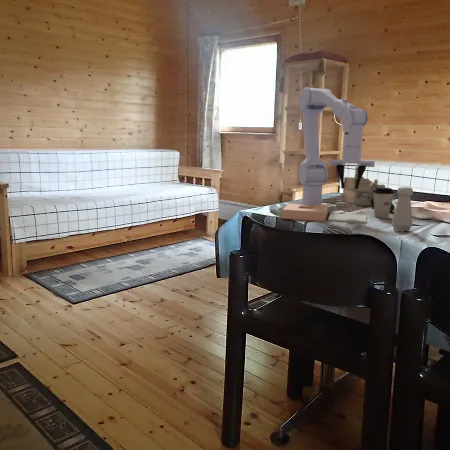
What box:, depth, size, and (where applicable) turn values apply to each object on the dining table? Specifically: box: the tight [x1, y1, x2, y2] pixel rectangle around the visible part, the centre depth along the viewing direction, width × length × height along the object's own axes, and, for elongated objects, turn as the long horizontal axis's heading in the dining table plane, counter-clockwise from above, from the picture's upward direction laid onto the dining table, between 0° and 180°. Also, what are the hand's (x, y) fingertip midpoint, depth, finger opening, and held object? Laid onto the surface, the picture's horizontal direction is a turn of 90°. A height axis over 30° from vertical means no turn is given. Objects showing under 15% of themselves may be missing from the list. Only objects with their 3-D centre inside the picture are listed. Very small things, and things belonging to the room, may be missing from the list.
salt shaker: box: [391, 186, 414, 232], centre depth 137 cm, size 6×6×13 cm
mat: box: [327, 212, 367, 224], centre depth 155 cm, size 12×12×1 cm
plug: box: [341, 176, 357, 204], centre depth 153 cm, size 4×4×8 cm
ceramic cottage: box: [347, 166, 386, 206], centre depth 191 cm, size 16×16×15 cm
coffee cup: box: [373, 186, 395, 219], centre depth 159 cm, size 7×7×10 cm
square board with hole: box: [281, 203, 329, 222], centre depth 159 cm, size 14×14×3 cm
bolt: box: [370, 196, 396, 213], centre depth 175 cm, size 6×5×15 cm
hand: (349, 188), depth 153 cm, fingers closed on plug, 4 cm apart
